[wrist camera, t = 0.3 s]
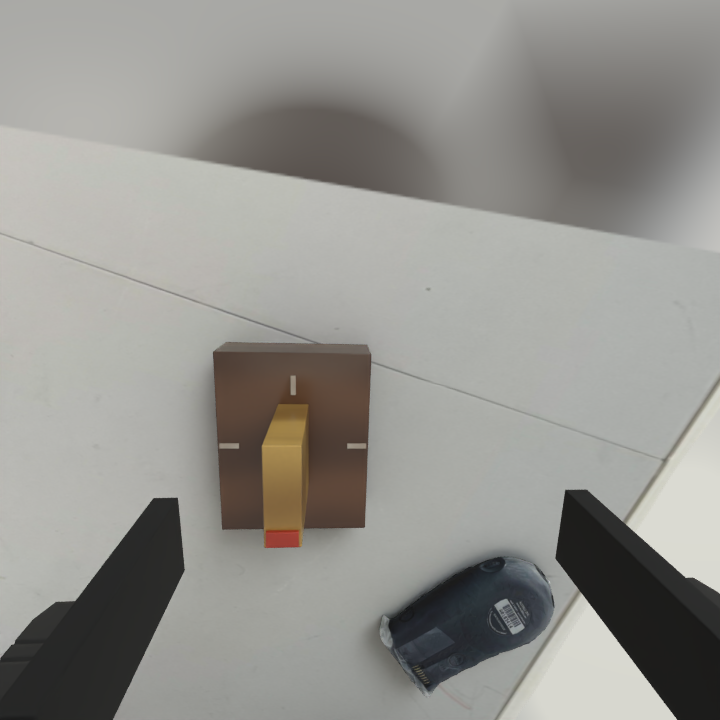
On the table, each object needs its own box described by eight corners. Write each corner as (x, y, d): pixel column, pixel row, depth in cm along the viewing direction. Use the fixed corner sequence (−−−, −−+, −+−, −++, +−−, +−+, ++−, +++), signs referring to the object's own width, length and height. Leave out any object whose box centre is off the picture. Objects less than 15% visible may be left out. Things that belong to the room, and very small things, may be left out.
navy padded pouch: (426, 662, 42) (566, 608, 39) (428, 719, 36) (590, 661, 33) (379, 589, 41) (518, 528, 38) (374, 636, 36) (535, 569, 32)
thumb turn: (277, 403, 29) (260, 447, 22) (308, 403, 30) (301, 447, 23) (279, 485, 31) (263, 550, 24) (308, 485, 31) (301, 550, 24)
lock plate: (225, 342, 32) (212, 351, 28) (367, 344, 33) (371, 354, 29) (232, 504, 35) (221, 531, 31) (361, 502, 36) (364, 529, 32)
